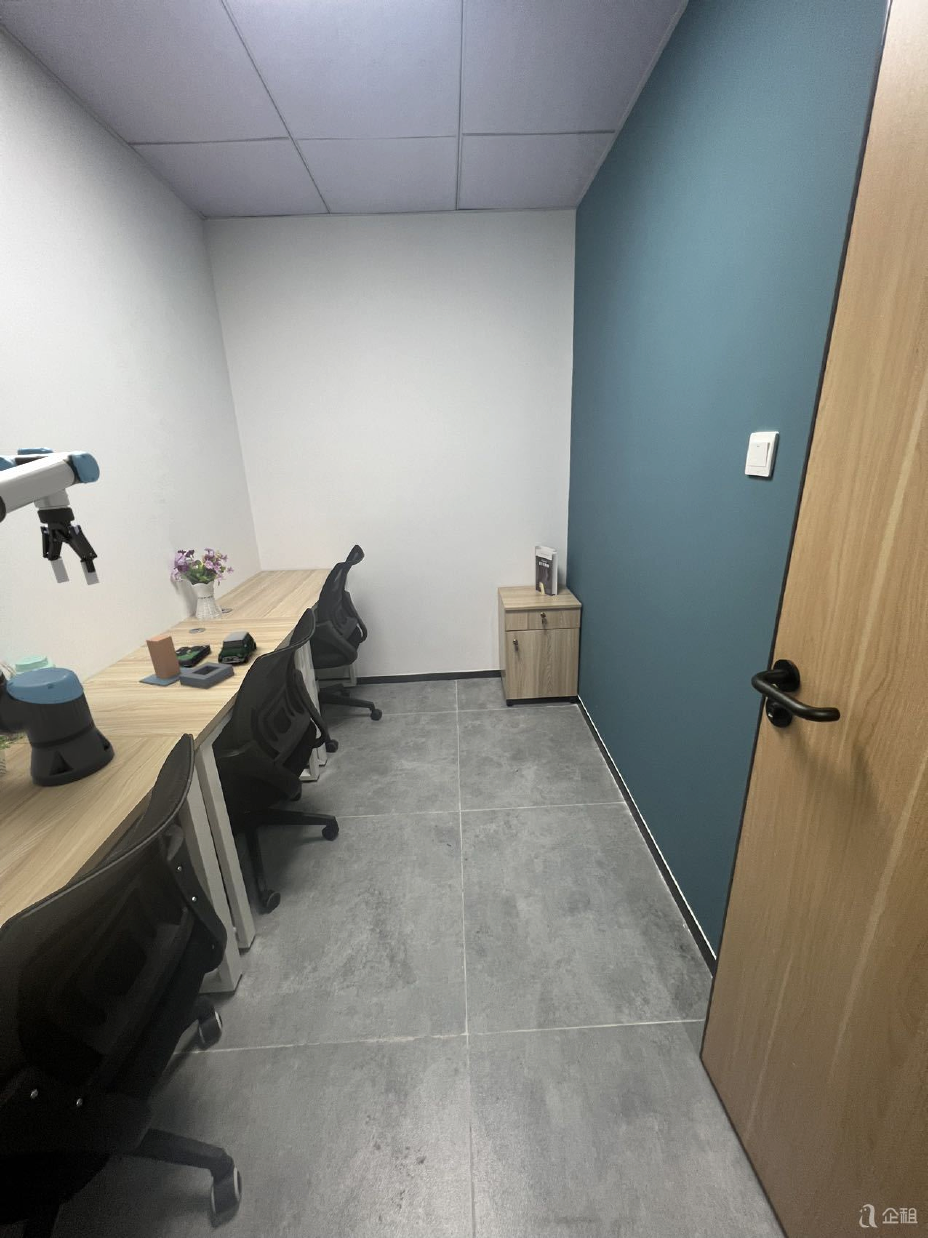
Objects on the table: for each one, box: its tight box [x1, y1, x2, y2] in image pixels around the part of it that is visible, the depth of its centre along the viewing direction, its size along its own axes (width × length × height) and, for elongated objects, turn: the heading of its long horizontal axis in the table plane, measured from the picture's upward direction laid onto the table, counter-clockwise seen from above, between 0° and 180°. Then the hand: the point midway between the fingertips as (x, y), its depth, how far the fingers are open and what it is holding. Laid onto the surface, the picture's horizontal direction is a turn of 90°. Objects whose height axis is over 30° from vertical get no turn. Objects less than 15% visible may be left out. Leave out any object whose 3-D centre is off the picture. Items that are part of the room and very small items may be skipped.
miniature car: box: [217, 630, 257, 664], centre depth 171 cm, size 9×18×8 cm, turn 9°
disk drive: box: [175, 644, 212, 667], centre depth 171 cm, size 10×3×15 cm
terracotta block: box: [145, 634, 181, 679], centre depth 157 cm, size 5×5×13 cm
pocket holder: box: [178, 661, 235, 689], centre depth 155 cm, size 11×11×3 cm
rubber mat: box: [138, 666, 192, 688], centre depth 159 cm, size 12×12×1 cm
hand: (78, 583), depth 139 cm, fingers open, 13 cm apart
